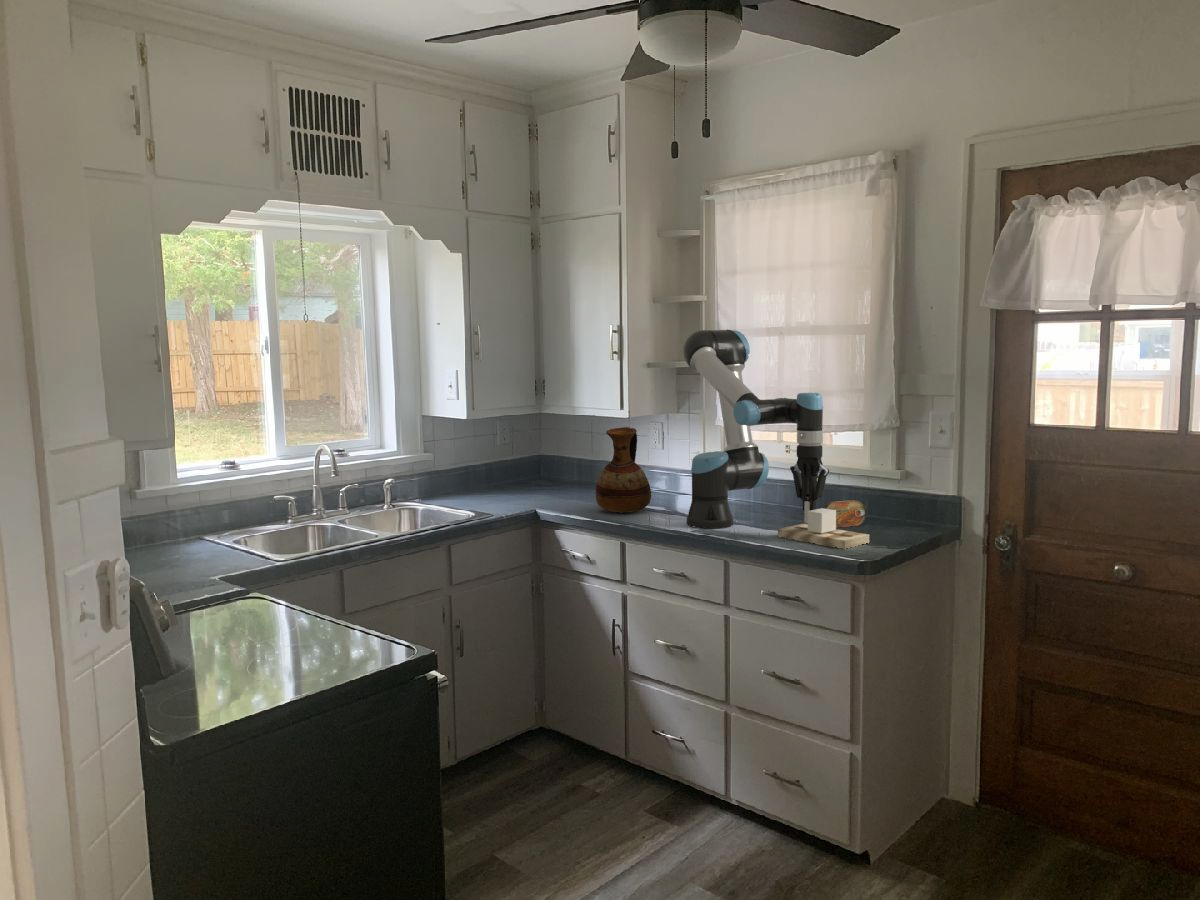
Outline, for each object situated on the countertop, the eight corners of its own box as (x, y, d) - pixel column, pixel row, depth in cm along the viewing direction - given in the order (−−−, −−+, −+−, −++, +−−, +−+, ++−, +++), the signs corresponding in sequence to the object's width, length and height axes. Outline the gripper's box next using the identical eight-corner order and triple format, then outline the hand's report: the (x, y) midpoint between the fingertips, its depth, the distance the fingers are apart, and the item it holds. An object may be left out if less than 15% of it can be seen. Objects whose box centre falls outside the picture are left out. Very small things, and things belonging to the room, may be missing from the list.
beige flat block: (777, 536, 281) (777, 528, 280) (802, 531, 288) (802, 523, 288) (844, 549, 263) (845, 540, 262) (869, 543, 270) (869, 534, 270)
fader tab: (807, 530, 275) (807, 511, 274) (821, 527, 280) (822, 508, 279) (821, 533, 271) (821, 513, 271) (835, 530, 276) (836, 510, 275)
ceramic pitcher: (588, 514, 323) (587, 429, 320) (605, 505, 342) (604, 424, 339) (642, 516, 317) (642, 430, 314) (656, 507, 336) (656, 425, 333)
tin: (825, 529, 292) (825, 502, 291) (820, 527, 295) (820, 501, 294) (866, 525, 296) (867, 499, 295) (861, 524, 299) (861, 498, 298)
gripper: (784, 444, 279) (784, 521, 281) (819, 446, 269) (819, 526, 271) (799, 442, 283) (799, 518, 286) (835, 444, 274) (834, 523, 276)
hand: (809, 522), depth 279 cm, fingers closed
